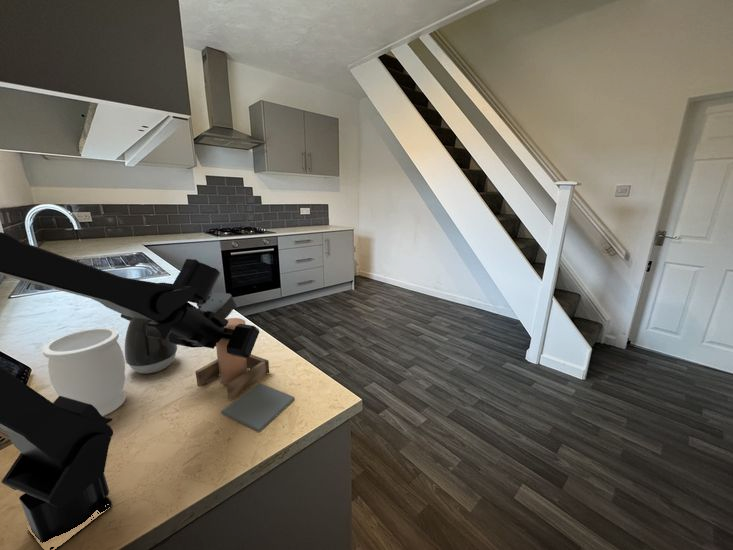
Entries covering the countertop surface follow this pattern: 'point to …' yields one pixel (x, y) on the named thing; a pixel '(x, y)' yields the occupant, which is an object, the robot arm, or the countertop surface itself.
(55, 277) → the robot arm
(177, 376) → the countertop surface
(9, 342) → the countertop surface
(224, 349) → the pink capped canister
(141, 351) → the pump dispenser
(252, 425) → the mat
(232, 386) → the frame
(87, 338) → the jar
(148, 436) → the countertop surface
